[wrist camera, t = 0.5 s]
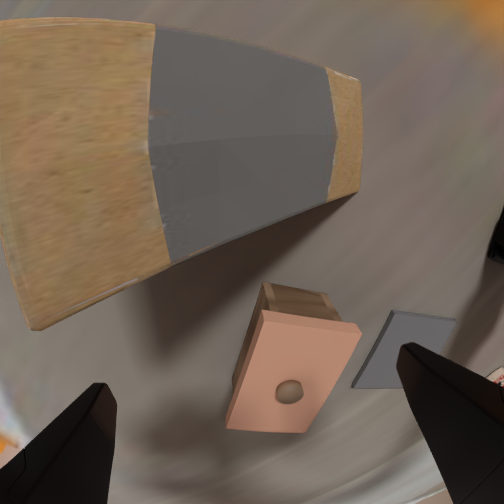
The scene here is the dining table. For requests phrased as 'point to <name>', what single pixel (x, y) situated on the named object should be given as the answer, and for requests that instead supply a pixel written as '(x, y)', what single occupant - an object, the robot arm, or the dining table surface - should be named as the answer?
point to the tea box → (285, 311)
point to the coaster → (390, 340)
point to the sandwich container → (154, 151)
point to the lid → (289, 372)
